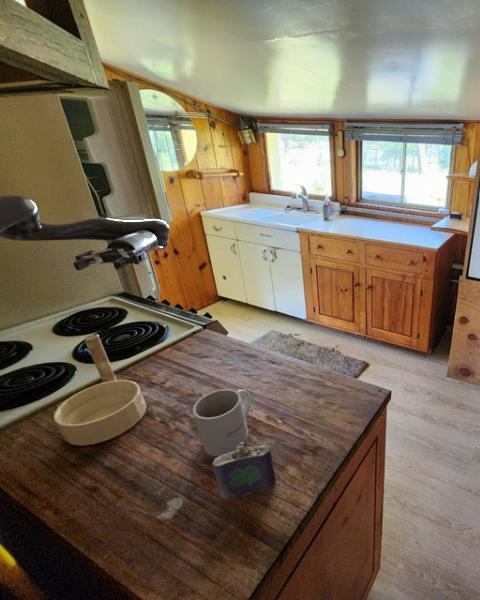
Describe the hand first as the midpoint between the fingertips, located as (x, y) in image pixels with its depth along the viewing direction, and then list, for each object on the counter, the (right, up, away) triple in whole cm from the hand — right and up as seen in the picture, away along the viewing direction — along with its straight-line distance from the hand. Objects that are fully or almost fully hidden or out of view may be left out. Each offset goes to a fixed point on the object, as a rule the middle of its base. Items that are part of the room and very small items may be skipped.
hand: (96, 266), depth 82 cm
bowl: (+12, -36, -10) cm, 39 cm away
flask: (+50, -44, -22) cm, 70 cm away
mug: (+41, -38, -11) cm, 57 cm away
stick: (+3, -31, +1) cm, 31 cm away
